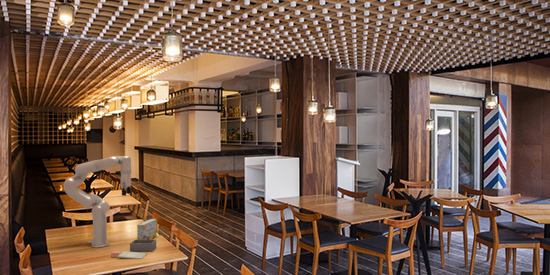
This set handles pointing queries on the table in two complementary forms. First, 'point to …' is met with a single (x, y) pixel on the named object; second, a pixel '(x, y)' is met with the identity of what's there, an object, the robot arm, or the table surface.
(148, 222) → the snack box
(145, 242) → the tub
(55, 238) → the table surface
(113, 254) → the lid
